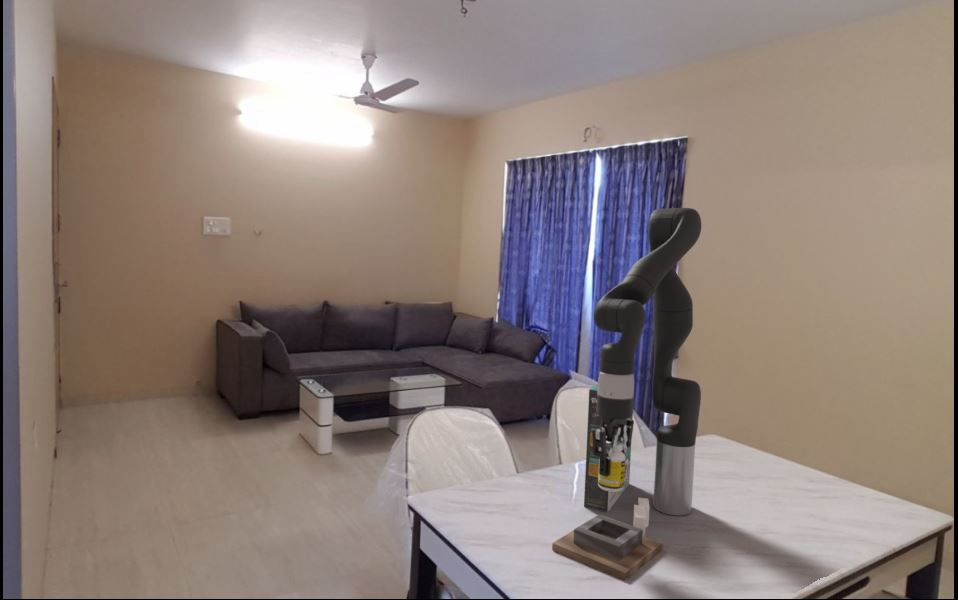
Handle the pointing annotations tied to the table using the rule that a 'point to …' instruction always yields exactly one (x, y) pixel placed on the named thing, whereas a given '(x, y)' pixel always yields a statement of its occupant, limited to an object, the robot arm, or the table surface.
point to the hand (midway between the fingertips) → (611, 471)
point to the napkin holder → (641, 514)
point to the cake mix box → (593, 492)
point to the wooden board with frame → (609, 546)
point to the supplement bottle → (614, 470)
